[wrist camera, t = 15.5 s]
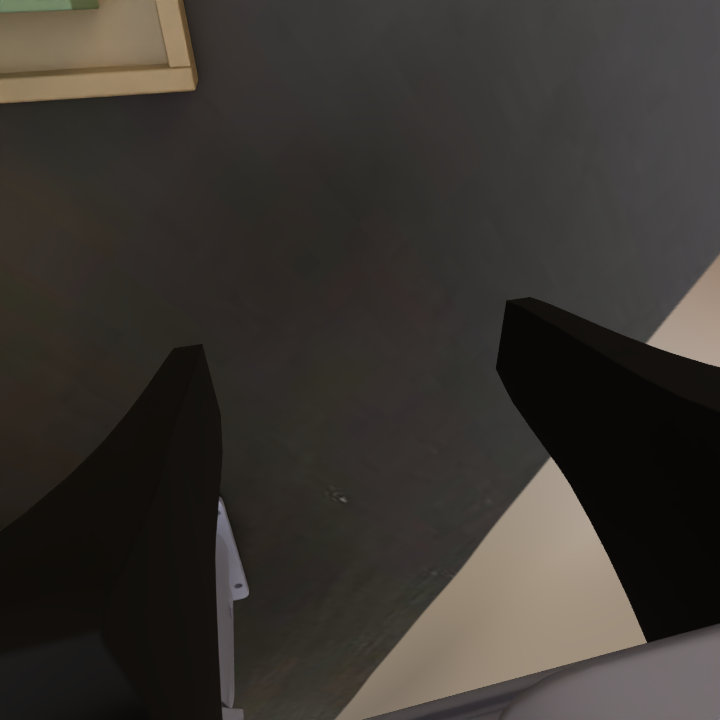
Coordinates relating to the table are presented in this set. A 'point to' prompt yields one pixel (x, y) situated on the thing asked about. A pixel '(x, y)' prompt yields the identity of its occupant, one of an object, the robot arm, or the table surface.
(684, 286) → the table surface
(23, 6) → the foam pad
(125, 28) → the frame
